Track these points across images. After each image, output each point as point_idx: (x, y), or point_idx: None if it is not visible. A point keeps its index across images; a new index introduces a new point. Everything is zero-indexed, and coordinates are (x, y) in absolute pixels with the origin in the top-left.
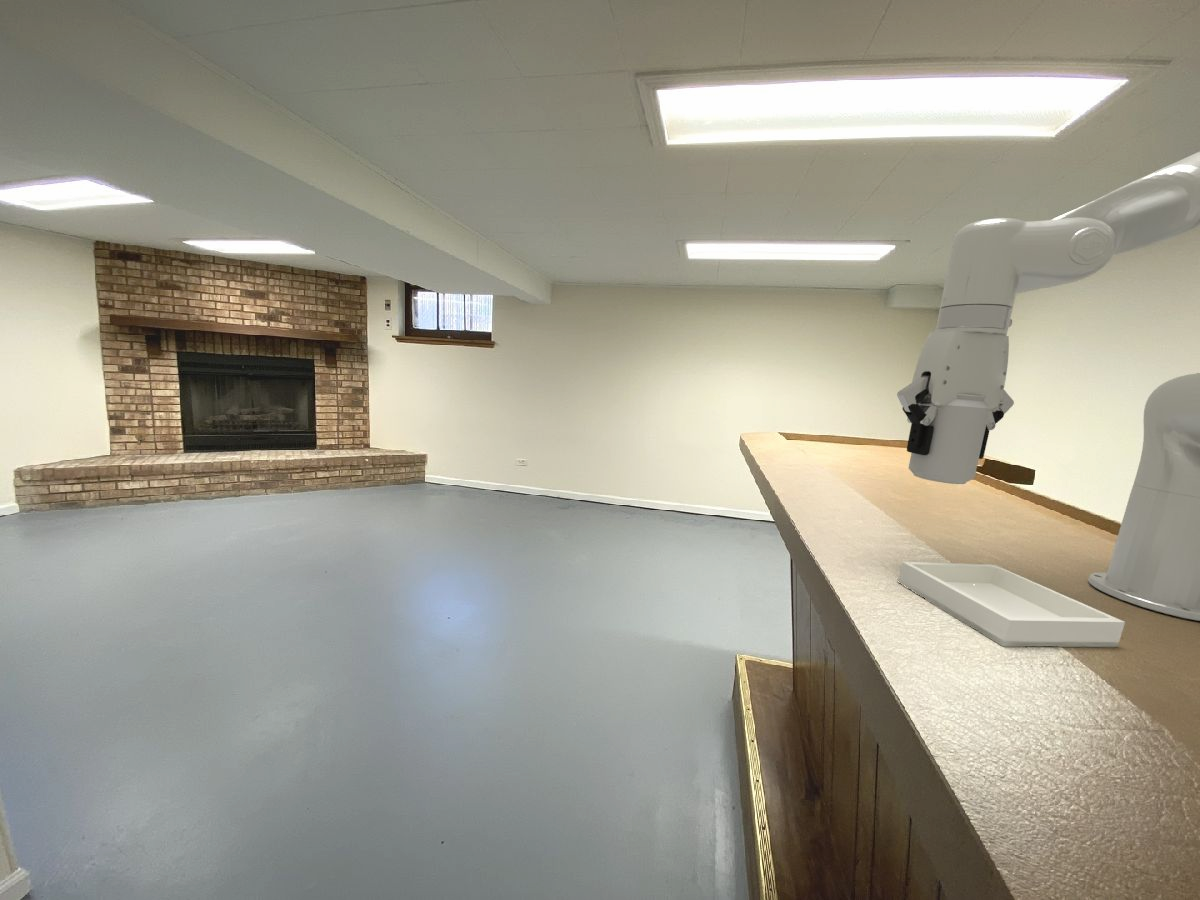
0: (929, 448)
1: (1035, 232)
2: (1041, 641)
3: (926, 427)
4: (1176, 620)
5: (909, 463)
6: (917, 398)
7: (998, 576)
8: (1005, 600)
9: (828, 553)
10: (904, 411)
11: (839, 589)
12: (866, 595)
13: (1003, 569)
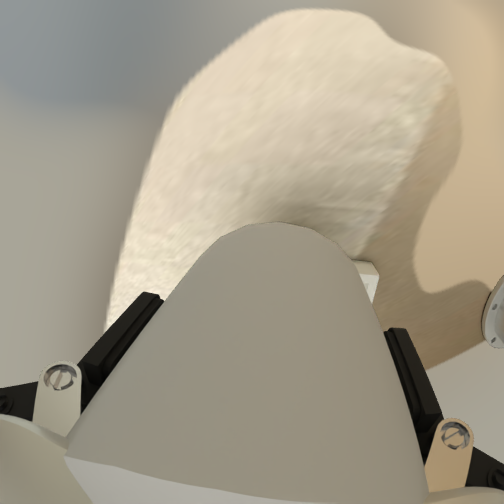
0: None
1: None
2: None
3: None
4: (477, 339)
5: (195, 262)
6: (14, 455)
7: (364, 284)
8: None
9: (179, 139)
10: (6, 391)
11: (123, 256)
12: (146, 272)
13: (370, 291)
